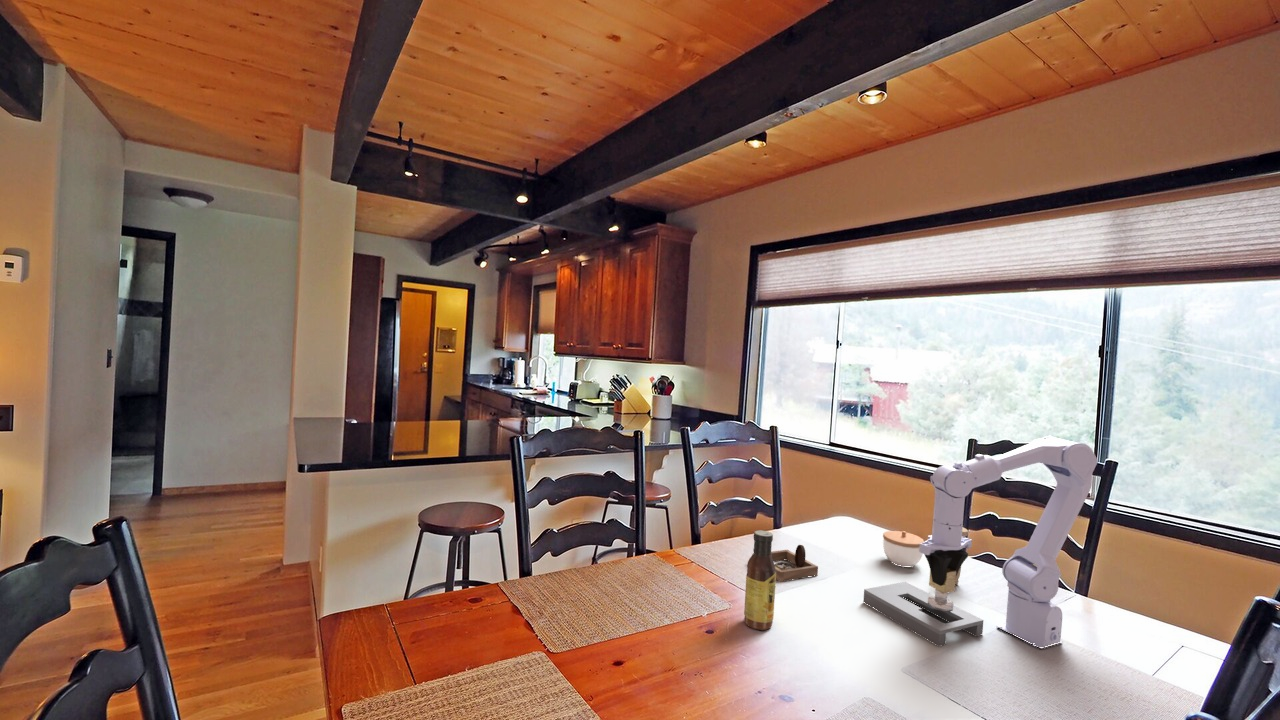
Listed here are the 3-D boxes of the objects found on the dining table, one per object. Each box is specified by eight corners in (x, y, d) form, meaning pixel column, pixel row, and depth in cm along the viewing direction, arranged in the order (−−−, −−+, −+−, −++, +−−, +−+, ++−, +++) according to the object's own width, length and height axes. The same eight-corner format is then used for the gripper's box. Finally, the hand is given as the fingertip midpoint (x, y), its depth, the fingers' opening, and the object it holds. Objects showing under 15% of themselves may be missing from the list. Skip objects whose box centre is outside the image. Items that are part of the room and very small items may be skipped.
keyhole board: (982, 634, 120) (983, 620, 120) (938, 646, 114) (939, 630, 114) (904, 594, 138) (905, 581, 138) (863, 602, 133) (864, 589, 132)
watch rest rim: (817, 575, 147) (818, 566, 147) (780, 581, 142) (780, 572, 142) (786, 558, 158) (787, 549, 158) (751, 563, 153) (751, 554, 153)
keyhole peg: (958, 609, 121) (961, 571, 120) (943, 613, 119) (946, 574, 118) (937, 599, 125) (940, 562, 125) (922, 602, 123) (925, 565, 123)
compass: (770, 565, 152) (772, 539, 152) (798, 567, 153) (800, 541, 152) (777, 577, 144) (779, 550, 144) (807, 579, 145) (809, 552, 144)
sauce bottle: (773, 633, 116) (779, 540, 115) (743, 629, 117) (749, 536, 116) (772, 618, 122) (778, 530, 122) (743, 614, 123) (749, 527, 123)
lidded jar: (924, 562, 161) (926, 530, 161) (920, 574, 152) (922, 541, 151) (884, 553, 167) (886, 522, 166) (878, 564, 157) (881, 532, 157)
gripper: (953, 513, 128) (948, 571, 128) (909, 518, 122) (904, 579, 122) (982, 523, 121) (978, 584, 122) (937, 529, 115) (933, 593, 116)
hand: (943, 582), depth 122 cm, fingers closed on keyhole peg, 3 cm apart
